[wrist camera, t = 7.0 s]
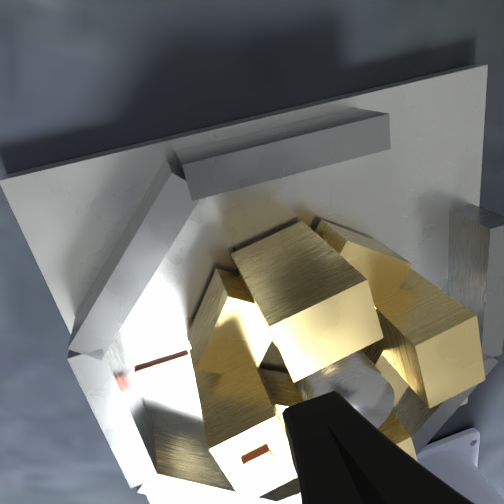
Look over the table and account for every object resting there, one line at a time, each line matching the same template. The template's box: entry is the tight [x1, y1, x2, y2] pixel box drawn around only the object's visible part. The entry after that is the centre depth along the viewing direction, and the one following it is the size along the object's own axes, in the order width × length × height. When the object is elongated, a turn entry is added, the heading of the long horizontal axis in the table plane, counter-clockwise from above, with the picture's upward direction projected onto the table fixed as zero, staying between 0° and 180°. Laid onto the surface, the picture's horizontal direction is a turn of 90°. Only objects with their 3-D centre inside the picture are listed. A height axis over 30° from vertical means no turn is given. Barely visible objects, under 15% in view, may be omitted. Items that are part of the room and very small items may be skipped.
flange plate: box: [0, 65, 504, 504], centre depth 18 cm, size 19×19×7 cm
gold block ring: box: [188, 220, 485, 504], centre depth 17 cm, size 10×10×6 cm
